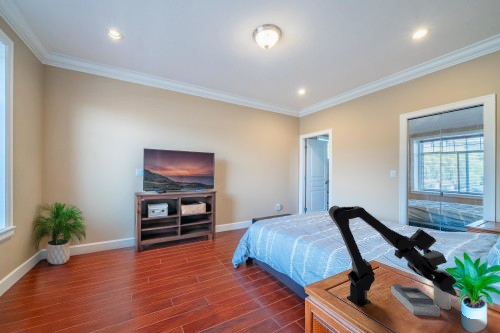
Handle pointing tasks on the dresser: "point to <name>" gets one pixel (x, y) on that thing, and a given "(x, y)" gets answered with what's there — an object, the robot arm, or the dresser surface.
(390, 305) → the dresser surface
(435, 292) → the lidded container
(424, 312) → the digital kitchen scale
